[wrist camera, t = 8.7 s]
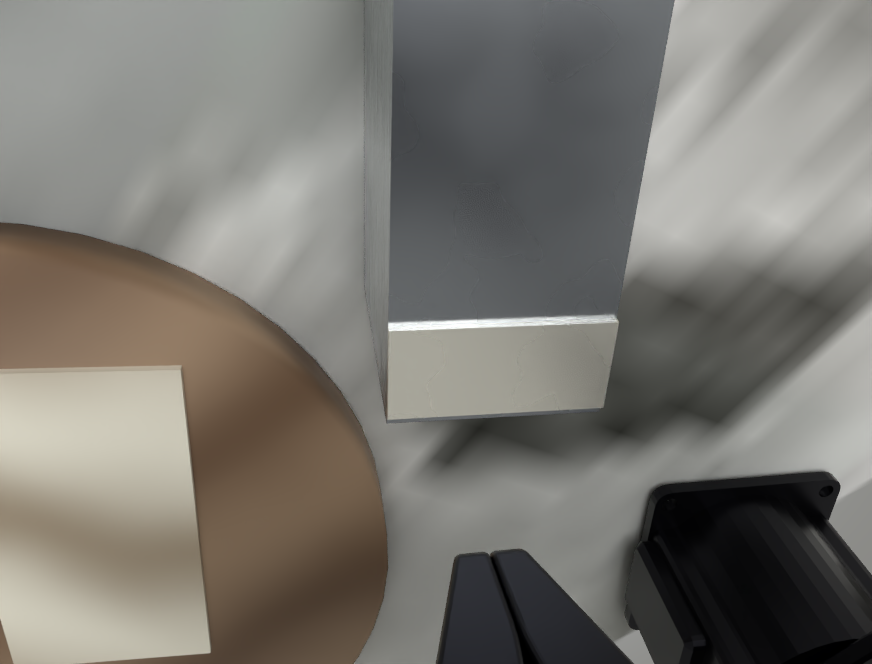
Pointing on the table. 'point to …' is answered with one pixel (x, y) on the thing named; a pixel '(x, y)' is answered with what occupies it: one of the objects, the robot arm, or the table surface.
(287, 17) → the table surface
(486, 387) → the brushed steel bar
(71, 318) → the dial
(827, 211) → the table surface
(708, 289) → the table surface
